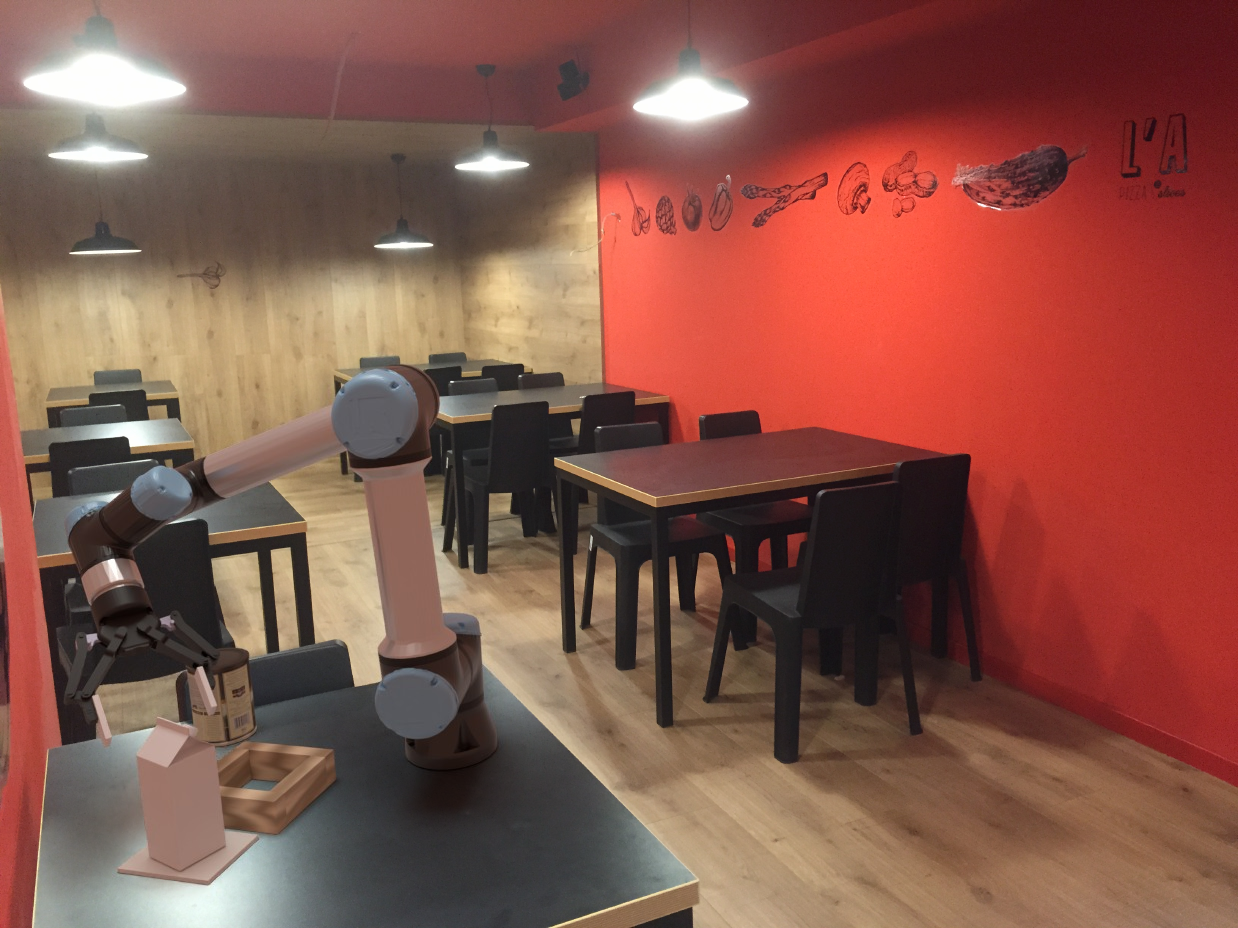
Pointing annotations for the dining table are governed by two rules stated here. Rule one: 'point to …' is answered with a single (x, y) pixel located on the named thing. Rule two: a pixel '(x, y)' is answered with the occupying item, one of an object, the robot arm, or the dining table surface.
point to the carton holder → (289, 765)
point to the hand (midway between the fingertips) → (162, 726)
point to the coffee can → (226, 700)
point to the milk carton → (180, 795)
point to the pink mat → (199, 870)
